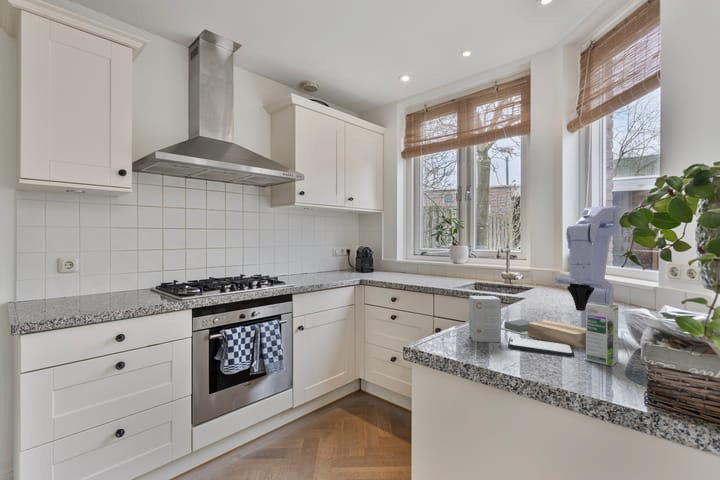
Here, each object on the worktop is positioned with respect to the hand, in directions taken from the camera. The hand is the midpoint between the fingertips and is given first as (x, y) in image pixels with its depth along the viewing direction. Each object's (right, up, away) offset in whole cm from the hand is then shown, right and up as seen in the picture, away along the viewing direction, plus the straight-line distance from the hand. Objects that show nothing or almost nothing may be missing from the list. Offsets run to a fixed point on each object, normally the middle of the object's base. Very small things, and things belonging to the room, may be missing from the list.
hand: (580, 310), depth 100 cm
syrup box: (-4, -10, -14) cm, 18 cm away
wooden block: (-3, -10, +4) cm, 11 cm away
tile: (-10, -8, +17) cm, 21 cm away
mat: (-9, -10, +16) cm, 21 cm away
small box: (-27, -10, +4) cm, 29 cm away
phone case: (-14, -11, -4) cm, 18 cm away
